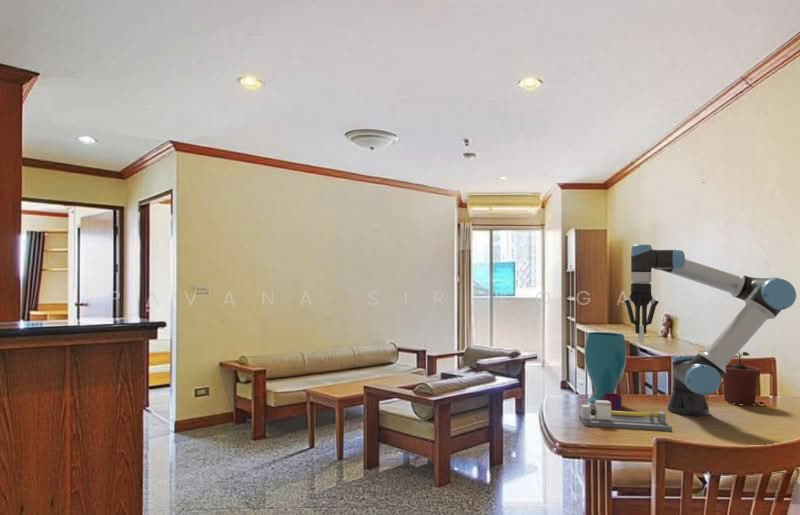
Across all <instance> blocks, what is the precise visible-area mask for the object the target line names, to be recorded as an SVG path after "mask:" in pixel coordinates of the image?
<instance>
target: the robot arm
mask: <svg viewBox="0 0 800 515" xmlns="http://www.w3.org/2000/svg"><path fill="white" fill-rule="evenodd" d="M652 269H653V270H657V271H663V272H666V273H669V274H672V275H675V276H679V277H681V278H683V279H687V280H689V281H693V282H695V283H699V284H702V285H705V286H707V287H708V286H709V287H711V288H713V289H717V290H721V291H724V292H727V293H730V295H731V296H732V297H733V298H736V299H739V300H741V301H744V303H745V305H744V307H742V309H741V310H740V311H739V312H738V314H737V315H736V316H735V317H734V318H733V320H732V321H731V322H730V323H729V324H728V325H727V326H726V327H725V328H724V329H723V331H722V332H721V333H720V334H719V335H718V336H717V338H716V339H715V340H714V341H713V342H712V344H710V346H709V347H708V348H707V349H706V350H705V351H704V352H698V353H697V354H696V355H695V356H693V355H674V356H673V357H672V362H671V365H672V391H671V394H670V397H669V400H668V403H667V410H668V411H669V412H672V413H674V414H679V415H684V416H693V417H705V416H709V415H710V407H709V404H708V402H707V399H706V395H707V396H708V395H712V394H714V393H716V392H717V391H718V390H719V388H720V387H721V385H722V384H721V383H722V379H723V376H724V375H725V374H726V369H725V367H726V366H727V365H729V363H730V362H732V360H733V359H734V358H735V357H736V356H737V354H738V352H739V353H740V351H741V350H742V348H744V347H745V346H746V344H747V343H748V342H749V341H750V340H751V339H752V337H754V335H755V334H757V332H758V331H759V329H760V328H761V327H763V325H764V324H765V323H766V321H768V320H771V319H775V318H776V317H777V316H778V315H779V314H780V313H781V311H783V310H787V309H789V308H791V307H792V306H793V305H794V303H795V302H796V299H797V291H796V289H795V287H794V285H793V283H791V282H789V281H788V280H786V279H783V278H779V277H770V278H769V277H765V278H763V277H751V276H747V275H744V274H740V275H736V274H733V273H729V272H726V271H724V270H720V269H718V268H714V267H710V266H709V265H704V264H701V263H698V262H695V261H691V260H689V259H686V255H685V252H684V251H683V250H682V249H681V250H680V249H653V248H652V245H651V244H634V245H632V246H631V253H630V282H631V284H630V295H629V297H628V298H626V299H624V300H623V303H624V304H625V306H626V309H627V313H628V317H629V322H630V324H632V325H634V326H635V327H634V328H635V334H637V342H639V343H644V342H645V340H644V338H645V334H647V326H648V325H651V324H652V323H653V319H654V315H655V311H656V307H657V305H658V304H659V303H660V302H659V300H656V299H655V298H653V295H652V284H651V283H652ZM631 303H632V304H633V305H634V312H633V307H632V305H631ZM648 305H650V307H649V311H648Z"/></svg>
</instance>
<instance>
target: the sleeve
mask: <svg viewBox="0 0 800 515" xmlns="http://www.w3.org/2000/svg"><path fill="white" fill-rule="evenodd" d="M594 408H595V410H597V414H595V417H597V419H601V420H611V416H612V415H611V402H609V401H608V400H595V404H594Z"/></svg>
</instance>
